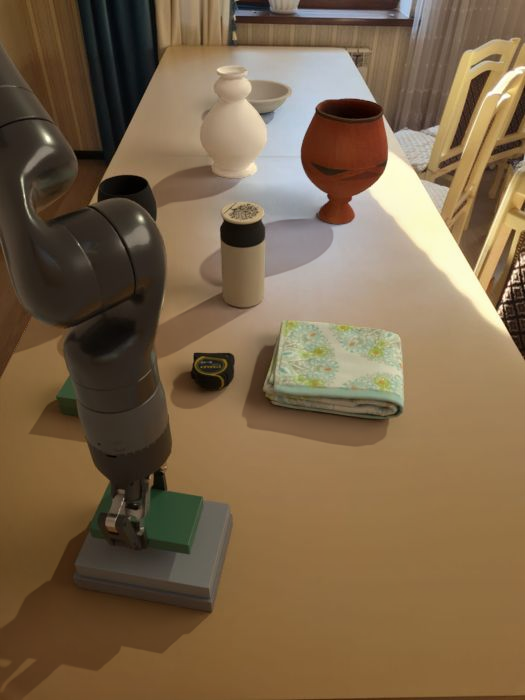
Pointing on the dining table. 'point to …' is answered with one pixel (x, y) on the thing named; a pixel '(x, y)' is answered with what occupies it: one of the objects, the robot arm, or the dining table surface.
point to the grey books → (161, 565)
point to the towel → (337, 370)
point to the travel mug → (242, 254)
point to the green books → (67, 399)
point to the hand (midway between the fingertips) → (148, 517)
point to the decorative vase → (233, 126)
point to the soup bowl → (267, 95)
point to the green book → (162, 519)
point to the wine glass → (129, 191)
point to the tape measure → (213, 370)
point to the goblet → (344, 153)
